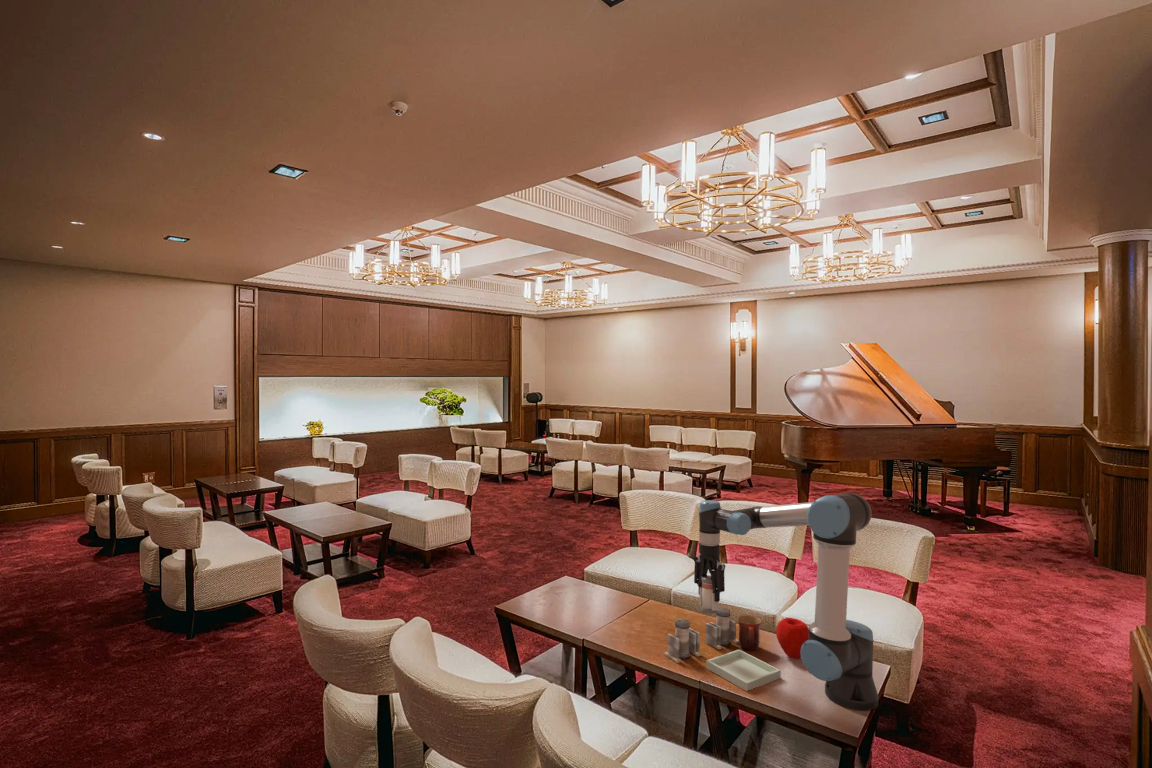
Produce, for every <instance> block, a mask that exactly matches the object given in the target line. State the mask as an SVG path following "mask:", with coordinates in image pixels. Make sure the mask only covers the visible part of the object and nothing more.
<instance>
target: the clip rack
mask: <svg viewBox="0 0 1152 768" xmlns="http://www.w3.org/2000/svg"><path fill="white" fill-rule="evenodd" d="M715 615H716V618H715V620H716V621H715V623H714V622H712V621H710V622H707V623H705V639H704V643H705V644H708V645H709V646H711V647H712V648H714V649H717V650H722V649H723V647H724V646H730V644H731V642H732V643H734V644H735V645H736V644H739V639H737V638H736V637H737V622H736V621H734V620H733V619H730V617H731V610H730V609H728V608H726V607H725V608H724V607H718V610H716V613H715ZM674 626H675V633H674V634H675V635H673V634H671V633H668V634H667V651H665V652H663V656H665V657H666V658H668V659H669V660H671V661H672V662H674V663H676V664H679V663H681V662H682V660H686V659H689V658H690V654H692V655H694V656H695V657H700V656H701V652H700V650H701V649H700V644H701V643H700V642H701V640H700V639H701V636H700V635H701V633H700V632H698V631H696V630H695V629H693V628H691V621H690V620H689V619H686V618H677V619H675V620H674Z"/></svg>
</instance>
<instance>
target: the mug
mask: <svg viewBox="0 0 1152 768" xmlns="http://www.w3.org/2000/svg"><path fill="white" fill-rule="evenodd" d="M737 622H738V629H739V630H738V640H739V643H738V644H739V646H740V648H741V649H743V650H746V651H750V652H751V651H757V650H758V649H759V647H760V643H761V642H760V641H761V640H760V635H761V634H760V629H761V626H762V623H763V622H762V619H761V618H759V617H757V616H754V615H750V614H749V615H747V614H743V615H739V616H737Z"/></svg>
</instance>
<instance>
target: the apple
mask: <svg viewBox="0 0 1152 768" xmlns="http://www.w3.org/2000/svg"><path fill="white" fill-rule="evenodd" d="M775 632H776V633H775V634H776V639H777V642H778V644H779V645H780V647H781V649H782V651H783V652H784V653H785V655H786V656H788V658H791V659H794V660H798V659H801V654H800V651H801V647H802V645H803V644H804V642H806V641H807V640H808V635H809V626H808V625H807V623H805V622H804V621H802V620H801V619H797V618H793V617H785V618H783V619H781V620H780V621H778V624H777V625H776V630H775Z"/></svg>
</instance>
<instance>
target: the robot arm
mask: <svg viewBox="0 0 1152 768" xmlns="http://www.w3.org/2000/svg"><path fill="white" fill-rule="evenodd" d="M698 518H699V519H698V521H699V523H698V525H699V526H698V527H699V528H698V530H699V532H698V542H699V544H698V554H699V555H697V556H694V557H693V561H694V576H693V577H694V578H693V582H694V584H696V585H697V587H698V596H699V598H698V599H699V600H698V601H699V606H701V605H702V581H701V577H702V576H707V575H708V573H709V574H710V576H711V580H712V585H713V592H712V611H715V610H718V608H719V602H721V601H720V600H721V595H720V594H721V593H722V592H723V593H724V592H725V590H726V589H725V587H726V586H725V584H726V583H725V569H726V564H725V563H722V562H720V558H719V557H720V554H721V545H720V543H721V532H722V531H723V532H726V533H730V534H734V535H736V536H737V535H740V536H745V535H746V534H748V533H749V532H750V531H751V530H754V529H755V530H756V529H766V528H784V527H788V528H789V527H803V526H809V527H810V530H811V532H812V533H813V536H812V538H813V540H814V541H815V542H816V543H817V546H818V547H817V566H816V567H817V568H816V584H815V585H816V587H815V608H814V622H812V623H811V624H809V625H808V629H809V635H808V640H807V641H806V642H804V644H803V645H802V647H801V651H800V654H801V658H800V659H801V661H802V663H803V666H804V667H806V669H807V671H808V672H809V673H810V674H811V675H812V676H813V677H815V678H816V679H818V680H820V681H823V682H825V683H824V693H825V695H826V697H827V698H828V699H829V700H831V701H832V702H834V703H836V704H837V705H840V706H842V707H844V708H847V709H850V710H856V711H871V710H874V709H876V708H877V707H878V706H879V700H880V699H879V693H878V691H877V688H876V685H875V684H876V683H875V680H874V677H873V671H874V670H873V667H874V665H873V664H874V642H875V641H874V633H873V630H872V629H871V628H870V627H869V626H868V625H865V624H863V623H860V622H857V621H854V620H850V619H847V614H848V613H847V612H848V611H847V609H848V596H849V595H848V594H849V593H848V591H849V590H848V589H849V572H850V571H849V570H850V553H851V552H850V551H851V548H853V547H855V545H856V544H857V532H858V531H861V530H863V529H864V528H866V527H867V526H868V525H869V523H870V522H871V520H872V508H871V505H870V504H869V502H868V501H867V500H866V499H865V498H864V497H863V496H862V495H860V494H857V493H855V492H843V493H838V494H837V493H836V494H828V495H824V496H821V497H819V498H817V499H815V500H814V501H809V502H808V501H807V502H798V503H786V504H785V503H784V504H775V505H764V506H762V505H761V506H752V507H747V508H743V509H742V508H741V509H740V508H739V509H735V510H728V509H725V508H724V509H723V508H722V506H721V502H719V501H718V500H712V499H711V500H710V499H708V500H707V499H706V500H705V499H704V500H702V501H700V502H699V511H698Z"/></svg>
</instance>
